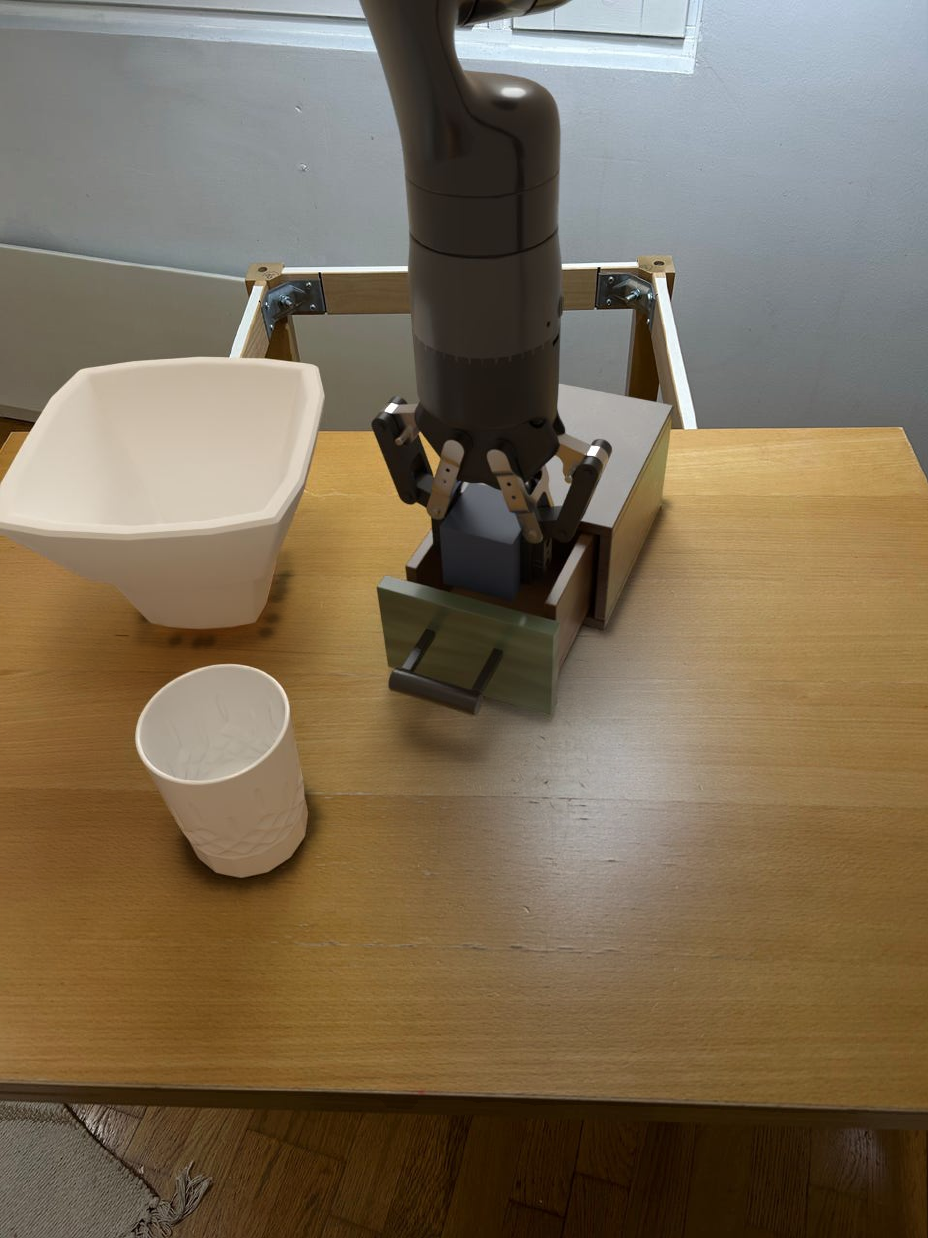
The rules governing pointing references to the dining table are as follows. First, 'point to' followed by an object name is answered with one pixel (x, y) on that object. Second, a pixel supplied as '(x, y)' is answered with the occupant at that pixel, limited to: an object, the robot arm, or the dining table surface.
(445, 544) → the block
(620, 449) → the cabinet
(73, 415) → the bowl
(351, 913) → the dining table surface
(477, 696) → the drawer
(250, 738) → the white cup
